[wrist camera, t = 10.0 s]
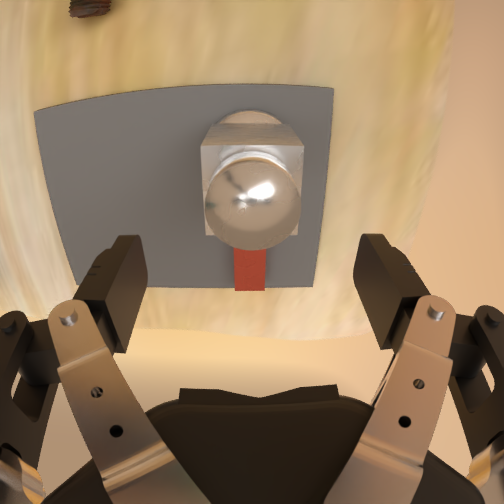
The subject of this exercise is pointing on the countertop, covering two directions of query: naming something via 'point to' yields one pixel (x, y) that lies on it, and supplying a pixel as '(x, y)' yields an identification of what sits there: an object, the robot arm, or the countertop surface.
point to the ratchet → (247, 261)
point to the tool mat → (173, 178)
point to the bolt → (88, 8)
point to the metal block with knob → (252, 183)
